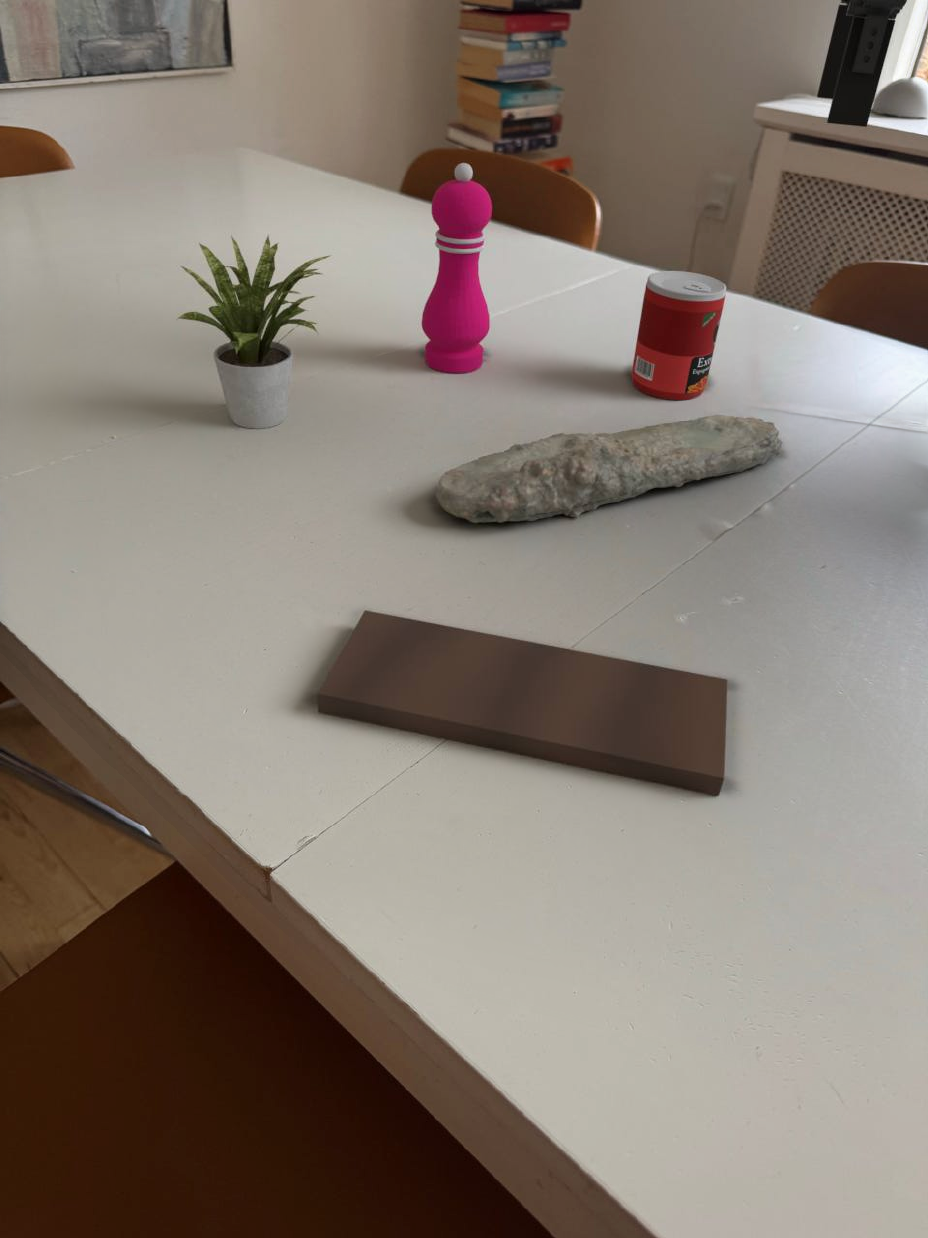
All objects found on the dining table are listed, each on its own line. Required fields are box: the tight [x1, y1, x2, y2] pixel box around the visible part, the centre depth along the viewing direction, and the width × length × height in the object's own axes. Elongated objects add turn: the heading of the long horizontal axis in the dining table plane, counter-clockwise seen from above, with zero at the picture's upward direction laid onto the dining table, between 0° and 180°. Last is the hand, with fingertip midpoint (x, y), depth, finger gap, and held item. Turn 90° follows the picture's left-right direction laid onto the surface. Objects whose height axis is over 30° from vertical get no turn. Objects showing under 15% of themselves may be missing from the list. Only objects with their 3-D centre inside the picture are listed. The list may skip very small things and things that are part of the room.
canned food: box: [631, 270, 727, 401], centre depth 100 cm, size 8×8×11 cm
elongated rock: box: [435, 414, 783, 524], centre depth 83 cm, size 35×5×10 cm
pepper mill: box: [421, 162, 493, 374], centre depth 99 cm, size 7×7×20 cm
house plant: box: [177, 234, 333, 430], centre depth 85 cm, size 14×14×16 cm
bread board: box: [316, 609, 728, 797], centre depth 60 cm, size 24×9×2 cm, turn 76°
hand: (839, 110), depth 75 cm, fingers open, 13 cm apart
